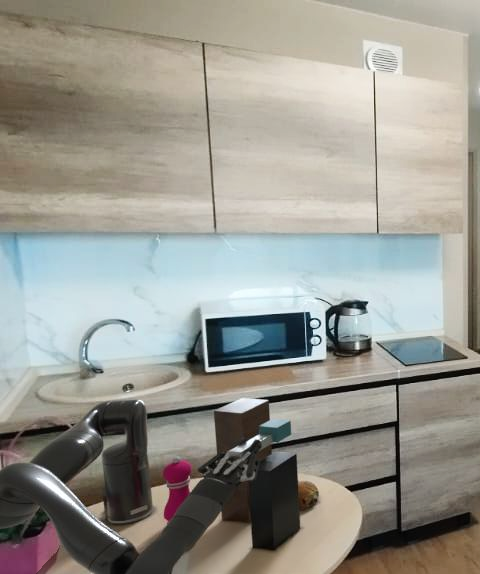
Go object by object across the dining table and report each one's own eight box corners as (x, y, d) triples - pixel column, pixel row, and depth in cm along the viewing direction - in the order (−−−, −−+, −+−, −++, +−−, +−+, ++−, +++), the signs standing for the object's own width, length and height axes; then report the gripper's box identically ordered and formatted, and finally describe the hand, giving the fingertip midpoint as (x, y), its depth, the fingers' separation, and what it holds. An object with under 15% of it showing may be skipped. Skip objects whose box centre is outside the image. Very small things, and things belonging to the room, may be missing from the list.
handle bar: (225, 460, 136) (224, 444, 135) (273, 433, 152) (272, 418, 151) (244, 462, 135) (243, 446, 135) (291, 434, 151) (290, 420, 150)
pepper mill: (180, 535, 151) (174, 464, 148) (157, 531, 152) (151, 460, 149) (205, 520, 158) (200, 452, 155) (184, 516, 159) (178, 449, 156)
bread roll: (313, 503, 175) (306, 477, 176) (327, 500, 169) (320, 474, 170) (277, 516, 167) (271, 490, 168) (291, 514, 161) (284, 486, 162)
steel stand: (252, 548, 147) (247, 468, 144) (279, 526, 157) (275, 451, 153) (274, 550, 147) (269, 471, 143) (300, 528, 157) (296, 453, 153)
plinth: (221, 520, 158) (213, 410, 153) (249, 501, 168) (242, 397, 163) (248, 523, 158) (241, 413, 152) (274, 503, 168) (268, 400, 162)
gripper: (182, 511, 130) (232, 447, 144) (240, 517, 129) (285, 452, 142) (165, 492, 125) (218, 428, 139) (225, 499, 124) (273, 433, 138)
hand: (251, 441), depth 141 cm, fingers closed on handle bar, 3 cm apart
